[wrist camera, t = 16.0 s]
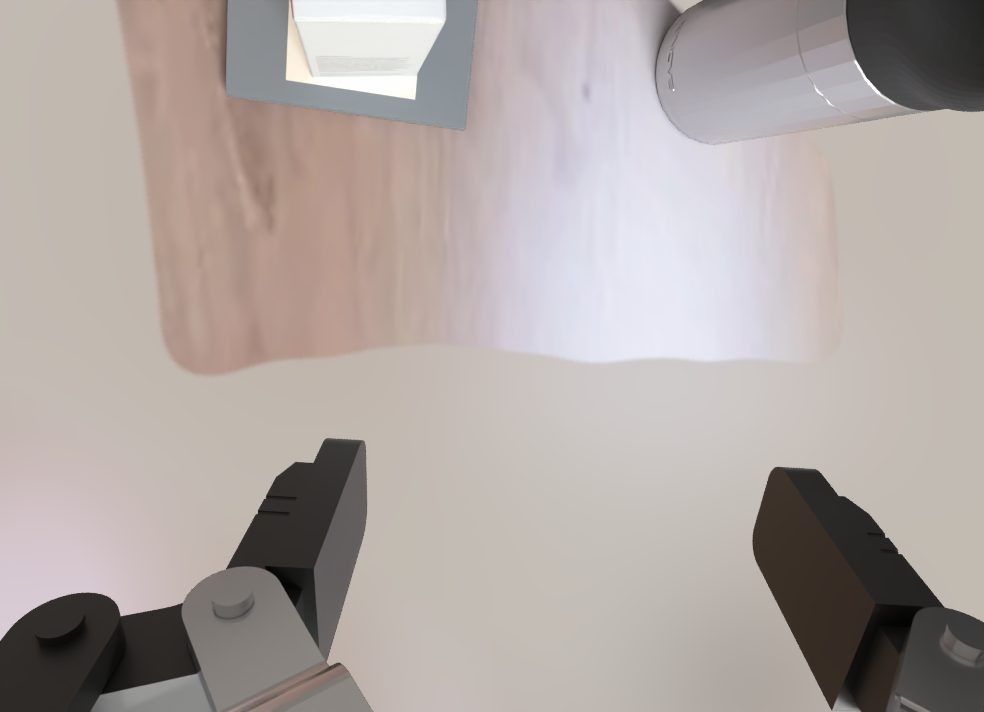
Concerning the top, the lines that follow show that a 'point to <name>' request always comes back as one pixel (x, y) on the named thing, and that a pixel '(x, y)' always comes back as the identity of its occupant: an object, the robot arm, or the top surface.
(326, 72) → the small box
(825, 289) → the top surface
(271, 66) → the base board
